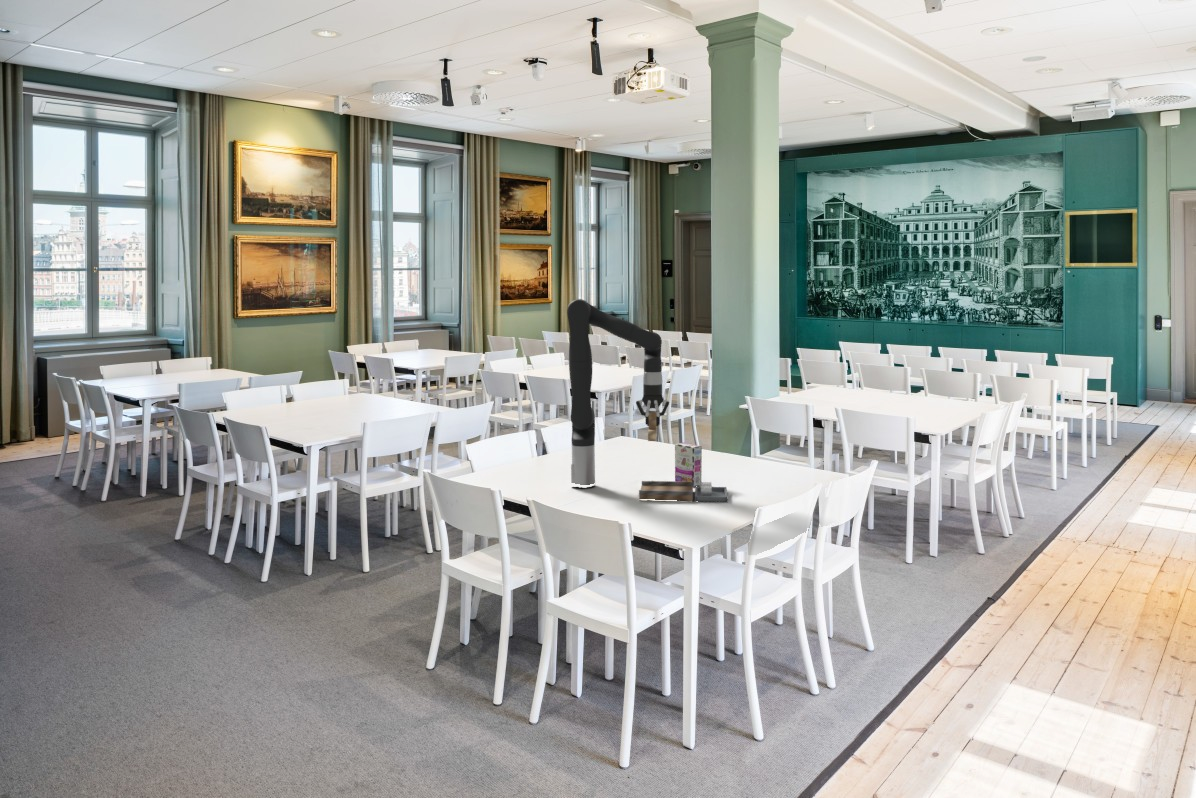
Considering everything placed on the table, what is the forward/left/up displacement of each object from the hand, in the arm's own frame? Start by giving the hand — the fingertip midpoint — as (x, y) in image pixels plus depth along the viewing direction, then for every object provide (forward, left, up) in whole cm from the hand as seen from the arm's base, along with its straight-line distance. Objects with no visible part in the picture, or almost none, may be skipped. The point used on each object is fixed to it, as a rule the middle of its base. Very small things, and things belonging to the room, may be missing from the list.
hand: (652, 425), depth 360 cm
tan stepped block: (0, 0, -5) cm, 5 cm away
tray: (+23, -16, -25) cm, 37 cm away
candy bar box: (+14, +4, -25) cm, 29 cm away
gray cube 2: (+19, -18, -22) cm, 35 cm away
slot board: (+6, -16, -25) cm, 30 cm away
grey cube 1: (+19, -13, -22) cm, 32 cm away
